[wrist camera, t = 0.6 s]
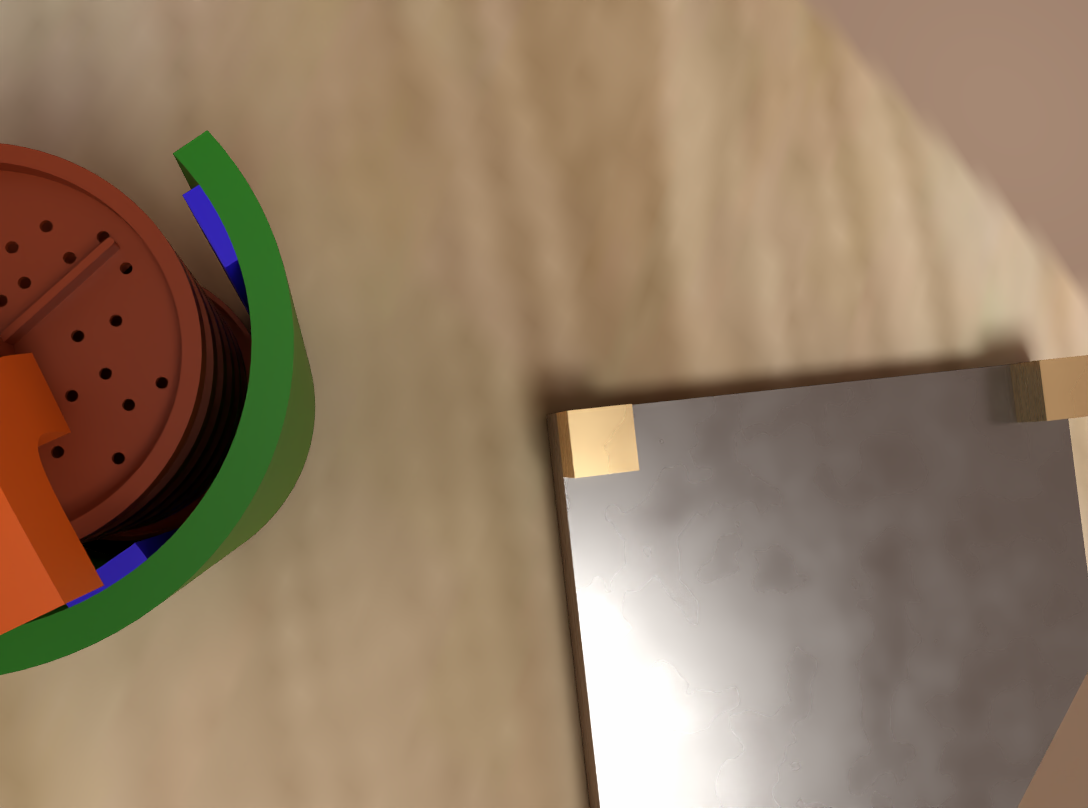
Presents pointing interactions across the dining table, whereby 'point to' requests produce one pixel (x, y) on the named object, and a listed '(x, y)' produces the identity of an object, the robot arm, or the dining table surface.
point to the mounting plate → (826, 590)
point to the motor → (133, 397)
